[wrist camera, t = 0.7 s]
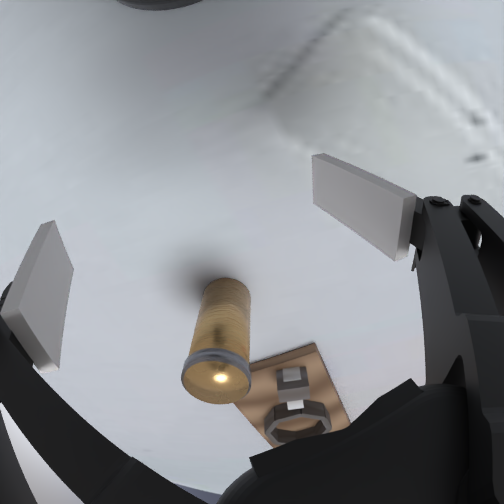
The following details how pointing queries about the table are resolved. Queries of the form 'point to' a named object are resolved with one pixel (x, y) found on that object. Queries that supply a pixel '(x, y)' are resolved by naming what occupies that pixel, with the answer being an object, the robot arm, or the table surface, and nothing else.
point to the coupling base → (270, 393)
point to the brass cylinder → (220, 345)
